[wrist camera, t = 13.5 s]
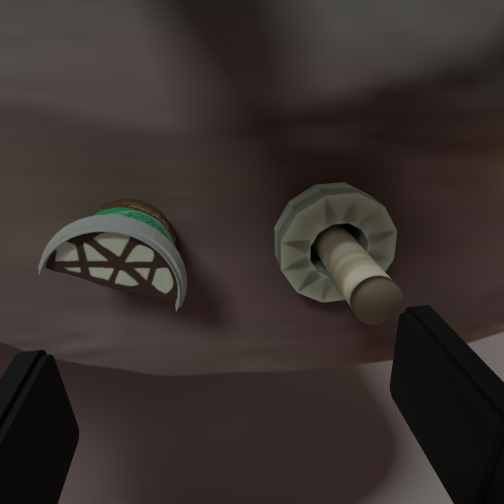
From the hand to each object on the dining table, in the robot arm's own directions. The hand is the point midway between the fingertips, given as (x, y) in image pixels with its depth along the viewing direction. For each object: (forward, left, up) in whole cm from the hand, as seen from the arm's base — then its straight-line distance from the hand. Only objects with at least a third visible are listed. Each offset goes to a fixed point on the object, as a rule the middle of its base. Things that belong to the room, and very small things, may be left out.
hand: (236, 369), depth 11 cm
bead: (+10, +12, -30) cm, 34 cm away
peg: (+10, +12, -30) cm, 34 cm away
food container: (+6, -8, -31) cm, 32 cm away
